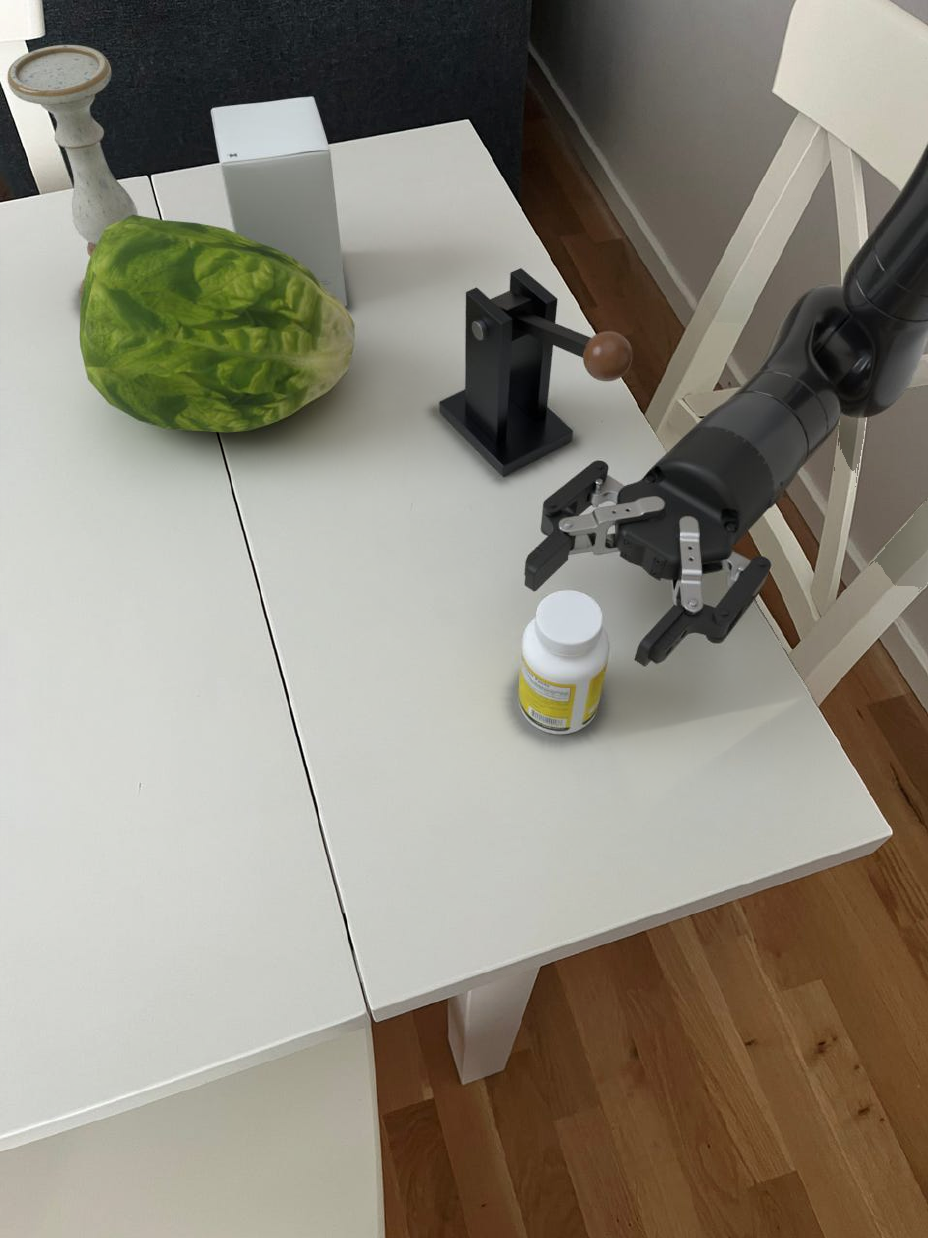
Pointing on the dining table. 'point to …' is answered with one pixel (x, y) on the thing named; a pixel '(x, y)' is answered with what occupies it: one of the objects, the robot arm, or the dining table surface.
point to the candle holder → (76, 129)
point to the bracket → (507, 383)
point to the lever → (569, 338)
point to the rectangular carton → (282, 183)
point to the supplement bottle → (563, 663)
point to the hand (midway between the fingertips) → (583, 617)
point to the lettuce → (207, 327)
